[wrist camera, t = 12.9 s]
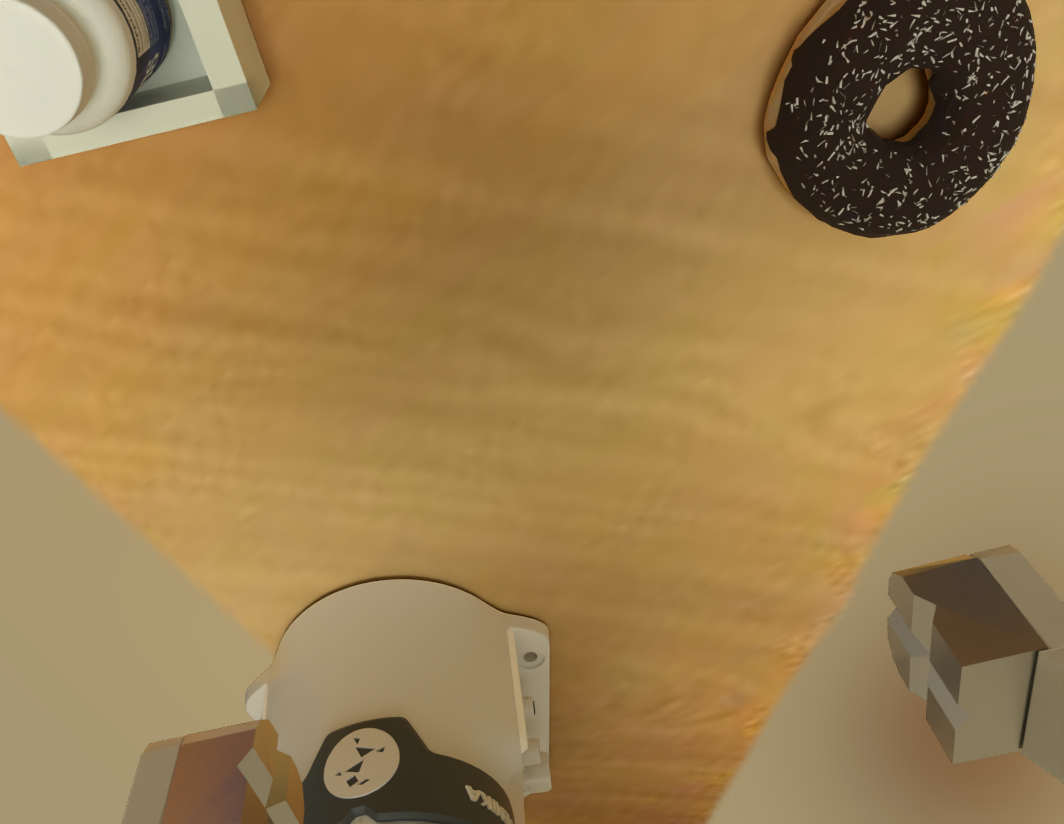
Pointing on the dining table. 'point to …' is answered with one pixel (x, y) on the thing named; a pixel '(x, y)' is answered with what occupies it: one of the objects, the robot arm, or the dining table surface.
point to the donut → (933, 143)
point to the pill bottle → (76, 61)
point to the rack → (177, 83)
